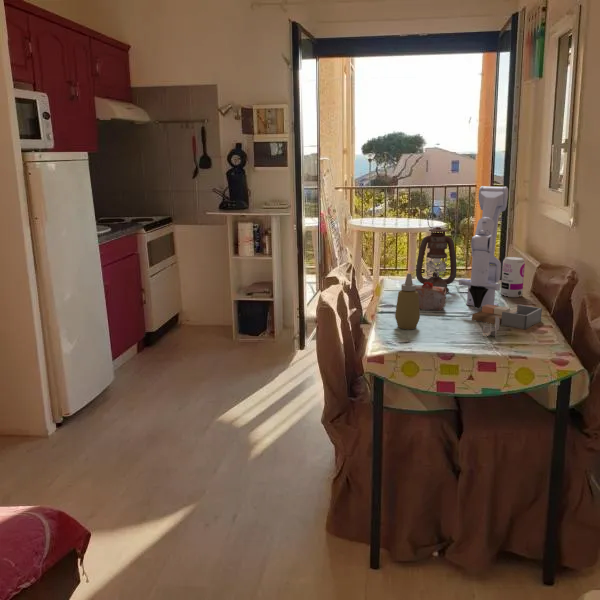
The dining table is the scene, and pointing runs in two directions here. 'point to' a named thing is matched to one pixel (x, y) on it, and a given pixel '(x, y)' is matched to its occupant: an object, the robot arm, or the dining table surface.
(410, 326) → the squeeze bottle
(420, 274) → the lantern
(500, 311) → the tile cream
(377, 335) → the dining table surface
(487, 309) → the tile terracotta
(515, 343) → the dining table surface
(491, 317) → the walnut plate
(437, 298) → the food item
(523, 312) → the box
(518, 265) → the supplement can
